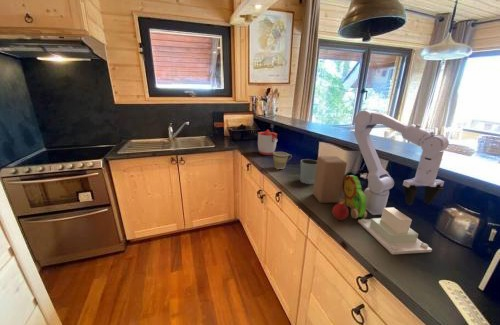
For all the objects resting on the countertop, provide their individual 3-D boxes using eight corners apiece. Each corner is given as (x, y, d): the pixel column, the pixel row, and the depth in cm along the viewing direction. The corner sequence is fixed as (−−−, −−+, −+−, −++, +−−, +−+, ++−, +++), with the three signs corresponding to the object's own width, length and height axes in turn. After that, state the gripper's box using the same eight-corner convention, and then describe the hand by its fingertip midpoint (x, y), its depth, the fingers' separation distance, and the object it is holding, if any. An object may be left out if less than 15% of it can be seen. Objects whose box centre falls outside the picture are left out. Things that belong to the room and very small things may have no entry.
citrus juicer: (269, 157, 164) (271, 132, 158) (253, 153, 175) (254, 129, 169) (281, 154, 175) (283, 130, 169) (264, 150, 186) (266, 127, 180)
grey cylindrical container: (312, 186, 115) (315, 165, 112) (295, 181, 121) (297, 161, 117) (319, 180, 123) (321, 161, 119) (302, 176, 129) (304, 157, 125)
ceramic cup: (275, 170, 136) (276, 156, 133) (270, 165, 146) (271, 151, 143) (293, 170, 139) (295, 155, 136) (287, 165, 149) (289, 151, 146)
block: (340, 203, 98) (348, 162, 92) (319, 203, 97) (325, 162, 91) (331, 193, 107) (337, 155, 101) (311, 193, 107) (317, 155, 101)
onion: (342, 215, 88) (346, 198, 85) (349, 223, 82) (353, 205, 80) (329, 215, 88) (332, 198, 85) (334, 223, 82) (338, 205, 80)
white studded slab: (358, 221, 84) (360, 212, 83) (390, 220, 86) (392, 211, 84) (392, 254, 67) (395, 244, 66) (431, 251, 69) (435, 241, 68)
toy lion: (366, 220, 86) (375, 185, 81) (354, 220, 85) (361, 185, 80) (346, 201, 101) (352, 171, 96) (335, 201, 100) (340, 171, 95)
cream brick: (380, 219, 79) (383, 207, 77) (390, 219, 79) (393, 207, 78) (397, 233, 71) (401, 220, 70) (408, 232, 72) (412, 219, 70)
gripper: (419, 173, 71) (408, 209, 75) (457, 172, 72) (445, 208, 76) (402, 166, 77) (393, 200, 81) (437, 166, 79) (427, 199, 83)
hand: (417, 203), depth 79 cm, fingers open, 7 cm apart
